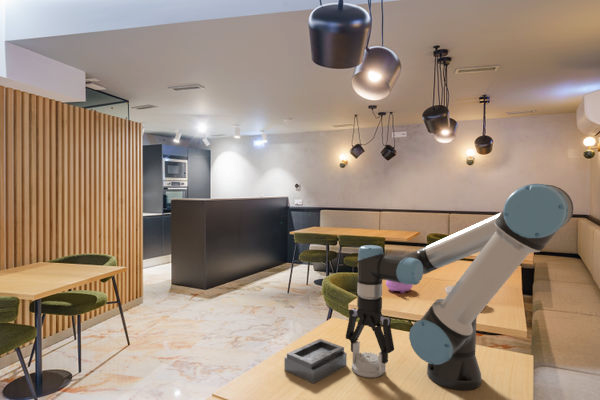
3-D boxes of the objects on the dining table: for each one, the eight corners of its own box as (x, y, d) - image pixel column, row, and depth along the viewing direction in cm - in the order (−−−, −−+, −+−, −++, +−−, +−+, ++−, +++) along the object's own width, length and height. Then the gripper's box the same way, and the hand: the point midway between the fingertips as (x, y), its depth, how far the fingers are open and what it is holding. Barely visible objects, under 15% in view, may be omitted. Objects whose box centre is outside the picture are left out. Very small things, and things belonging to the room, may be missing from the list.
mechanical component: (389, 369, 121) (362, 360, 128) (390, 355, 121) (362, 347, 127) (374, 382, 114) (345, 371, 120) (374, 367, 113) (345, 357, 120)
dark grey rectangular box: (351, 362, 126) (352, 345, 126) (313, 383, 112) (313, 365, 112) (323, 351, 134) (323, 335, 134) (284, 370, 120) (284, 352, 120)
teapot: (405, 297, 199) (406, 274, 199) (379, 293, 207) (379, 270, 206) (416, 288, 216) (417, 267, 216) (392, 285, 224) (392, 264, 223)
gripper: (407, 300, 115) (406, 374, 116) (348, 287, 130) (347, 353, 130) (395, 306, 109) (393, 384, 110) (334, 291, 124) (333, 360, 125)
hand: (368, 367), depth 120 cm, fingers closed on mechanical component, 9 cm apart
